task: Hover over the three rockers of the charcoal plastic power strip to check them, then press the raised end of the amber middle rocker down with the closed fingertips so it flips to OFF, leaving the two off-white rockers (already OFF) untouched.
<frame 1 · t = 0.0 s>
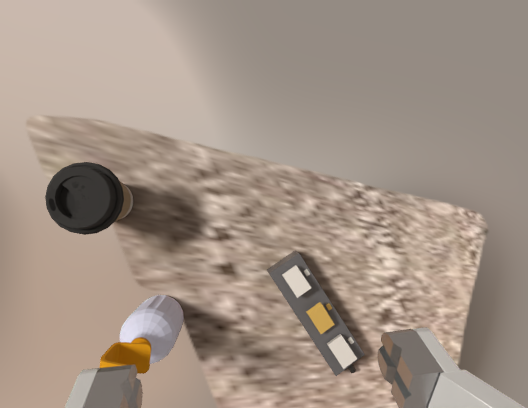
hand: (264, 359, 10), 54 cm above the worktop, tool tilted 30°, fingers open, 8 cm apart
soap bottle: (160, 317, 63), on the worktop
rocker 3: (296, 281, 60), point 6 cm above the worktop, hinge at 12.0°
rocker 1: (341, 351, 60), point 6 cm above the worktop, hinge at 12.0°
power strip: (312, 308, 66), on the worktop
coffee cup: (115, 201, 62), on the worktop
rocker 2: (320, 318, 60), point 6 cm above the worktop, hinge at -12.0°
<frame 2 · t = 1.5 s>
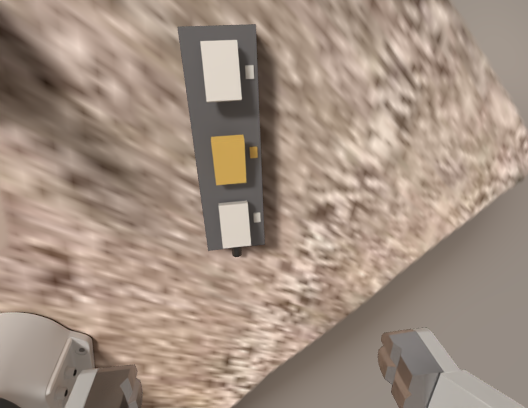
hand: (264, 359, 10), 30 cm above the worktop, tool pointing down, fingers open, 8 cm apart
rocker 3: (221, 72, 29), point 6 cm above the worktop, hinge at 12.0°
rocker 1: (234, 224, 36), point 6 cm above the worktop, hinge at 12.0°
power strip: (227, 143, 37), on the worktop
rocker 2: (229, 160, 33), point 6 cm above the worktop, hinge at -12.0°
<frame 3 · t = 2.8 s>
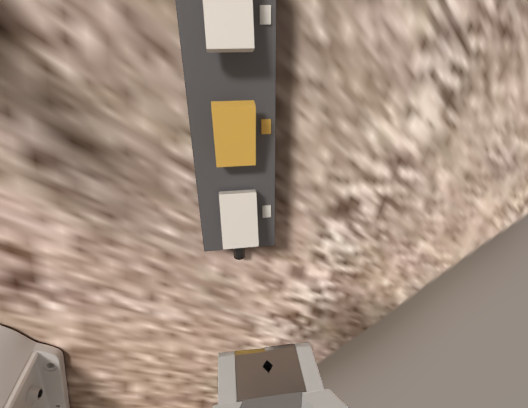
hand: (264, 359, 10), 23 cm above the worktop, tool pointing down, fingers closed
rocker 3: (228, 9, 21), point 6 cm above the worktop, hinge at 12.0°
rocker 1: (239, 219, 28), point 6 cm above the worktop, hinge at 12.0°
power strip: (231, 117, 30), on the worktop
rocker 2: (234, 134, 25), point 6 cm above the worktop, hinge at -12.0°
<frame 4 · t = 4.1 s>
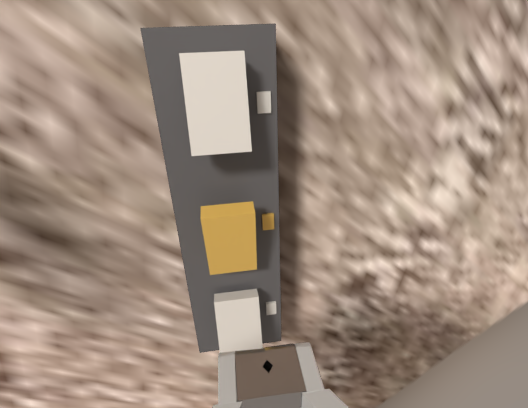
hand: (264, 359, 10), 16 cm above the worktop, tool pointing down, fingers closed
rocker 3: (217, 105, 17), point 6 cm above the worktop, hinge at 12.0°
rocker 1: (238, 325, 24), point 6 cm above the worktop, hinge at 12.0°
power strip: (226, 200, 25), on the worktop
rocker 2: (230, 239, 21), point 6 cm above the worktop, hinge at -12.0°
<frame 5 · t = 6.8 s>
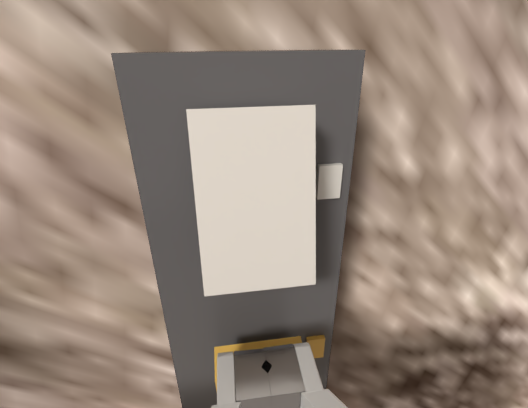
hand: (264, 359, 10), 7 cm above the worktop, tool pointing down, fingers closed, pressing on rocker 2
rocker 3: (254, 200, 9), point 6 cm above the worktop, hinge at 12.0°
power strip: (246, 291, 18), on the worktop
rocker 2: (259, 390, 13), point 6 cm above the worktop, hinge at -10.0°, touching gripper
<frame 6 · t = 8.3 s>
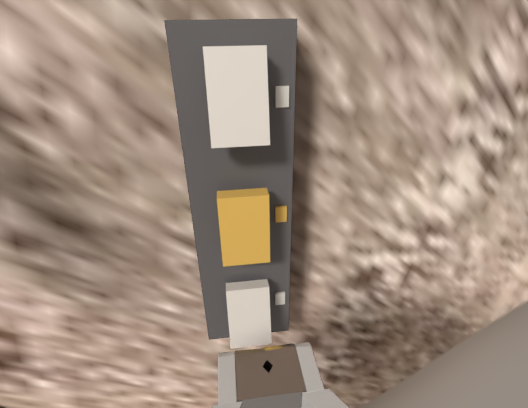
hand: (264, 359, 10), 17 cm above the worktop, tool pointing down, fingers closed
rocker 3: (237, 98, 17), point 6 cm above the worktop, hinge at 12.0°
rocker 1: (248, 313, 25), point 6 cm above the worktop, hinge at 12.0°
power strip: (239, 192, 26), on the worktop
rocker 2: (244, 227, 21), point 6 cm above the worktop, hinge at 2.2°
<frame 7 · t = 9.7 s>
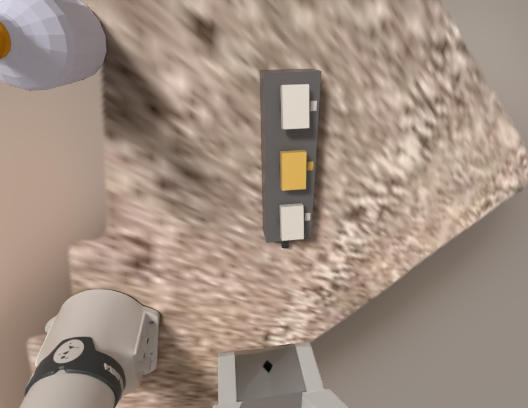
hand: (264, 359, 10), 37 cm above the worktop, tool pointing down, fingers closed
soap bottle: (66, 38, 37), on the worktop
rocker 3: (294, 107, 38), point 6 cm above the worktop, hinge at 12.0°
rocker 1: (291, 222, 45), point 6 cm above the worktop, hinge at 12.0°
power strip: (285, 157, 47), on the worktop
rocker 2: (293, 170, 42), point 6 cm above the worktop, hinge at 6.0°
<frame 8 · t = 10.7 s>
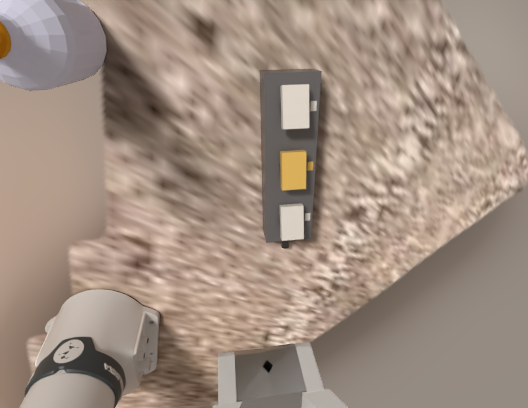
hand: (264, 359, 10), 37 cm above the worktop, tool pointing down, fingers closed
soap bottle: (66, 38, 37), on the worktop
rocker 3: (294, 107, 38), point 6 cm above the worktop, hinge at 12.0°
rocker 1: (291, 222, 45), point 6 cm above the worktop, hinge at 12.0°
power strip: (285, 157, 47), on the worktop
rocker 2: (293, 170, 42), point 6 cm above the worktop, hinge at 7.6°
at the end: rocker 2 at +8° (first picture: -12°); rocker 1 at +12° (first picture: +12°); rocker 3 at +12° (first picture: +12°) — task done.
